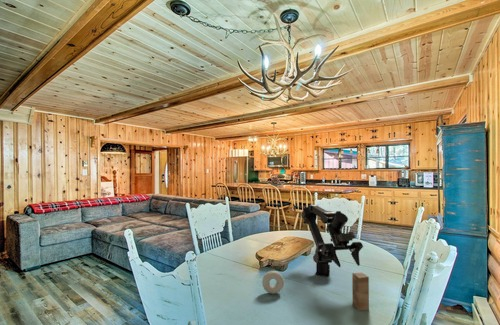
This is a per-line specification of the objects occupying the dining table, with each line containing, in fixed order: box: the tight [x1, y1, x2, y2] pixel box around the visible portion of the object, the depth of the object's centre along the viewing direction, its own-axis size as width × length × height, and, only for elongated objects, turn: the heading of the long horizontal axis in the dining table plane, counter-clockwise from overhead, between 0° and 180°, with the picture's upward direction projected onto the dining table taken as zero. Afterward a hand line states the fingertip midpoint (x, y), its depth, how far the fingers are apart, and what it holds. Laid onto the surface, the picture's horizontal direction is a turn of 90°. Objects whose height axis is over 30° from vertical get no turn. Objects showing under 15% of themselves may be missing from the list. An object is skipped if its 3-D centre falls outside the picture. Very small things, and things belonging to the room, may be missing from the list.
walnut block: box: [351, 271, 370, 312], centre depth 101 cm, size 4×4×13 cm
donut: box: [261, 270, 285, 295], centre depth 112 cm, size 10×4×10 cm, turn 92°
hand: (349, 266), depth 108 cm, fingers open, 9 cm apart
